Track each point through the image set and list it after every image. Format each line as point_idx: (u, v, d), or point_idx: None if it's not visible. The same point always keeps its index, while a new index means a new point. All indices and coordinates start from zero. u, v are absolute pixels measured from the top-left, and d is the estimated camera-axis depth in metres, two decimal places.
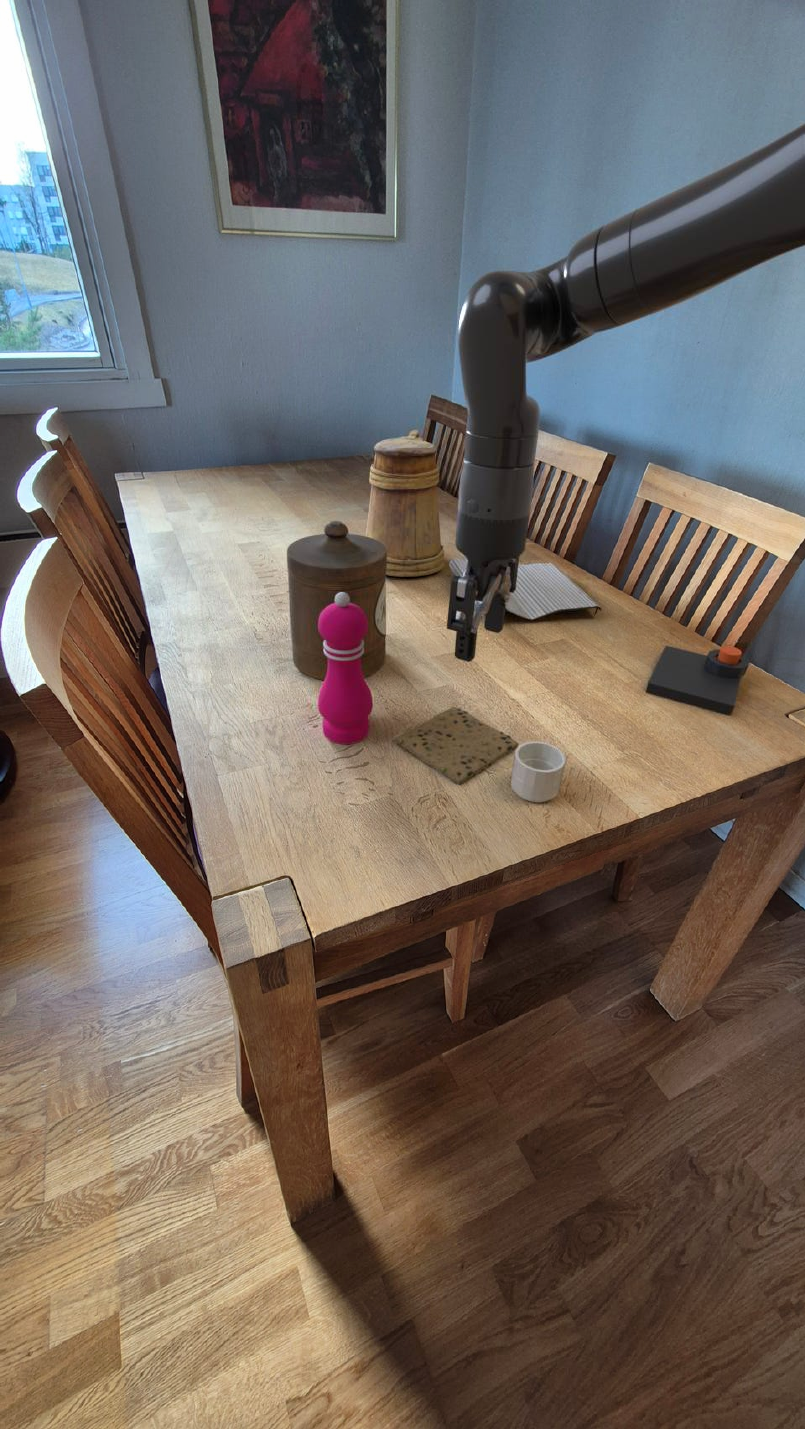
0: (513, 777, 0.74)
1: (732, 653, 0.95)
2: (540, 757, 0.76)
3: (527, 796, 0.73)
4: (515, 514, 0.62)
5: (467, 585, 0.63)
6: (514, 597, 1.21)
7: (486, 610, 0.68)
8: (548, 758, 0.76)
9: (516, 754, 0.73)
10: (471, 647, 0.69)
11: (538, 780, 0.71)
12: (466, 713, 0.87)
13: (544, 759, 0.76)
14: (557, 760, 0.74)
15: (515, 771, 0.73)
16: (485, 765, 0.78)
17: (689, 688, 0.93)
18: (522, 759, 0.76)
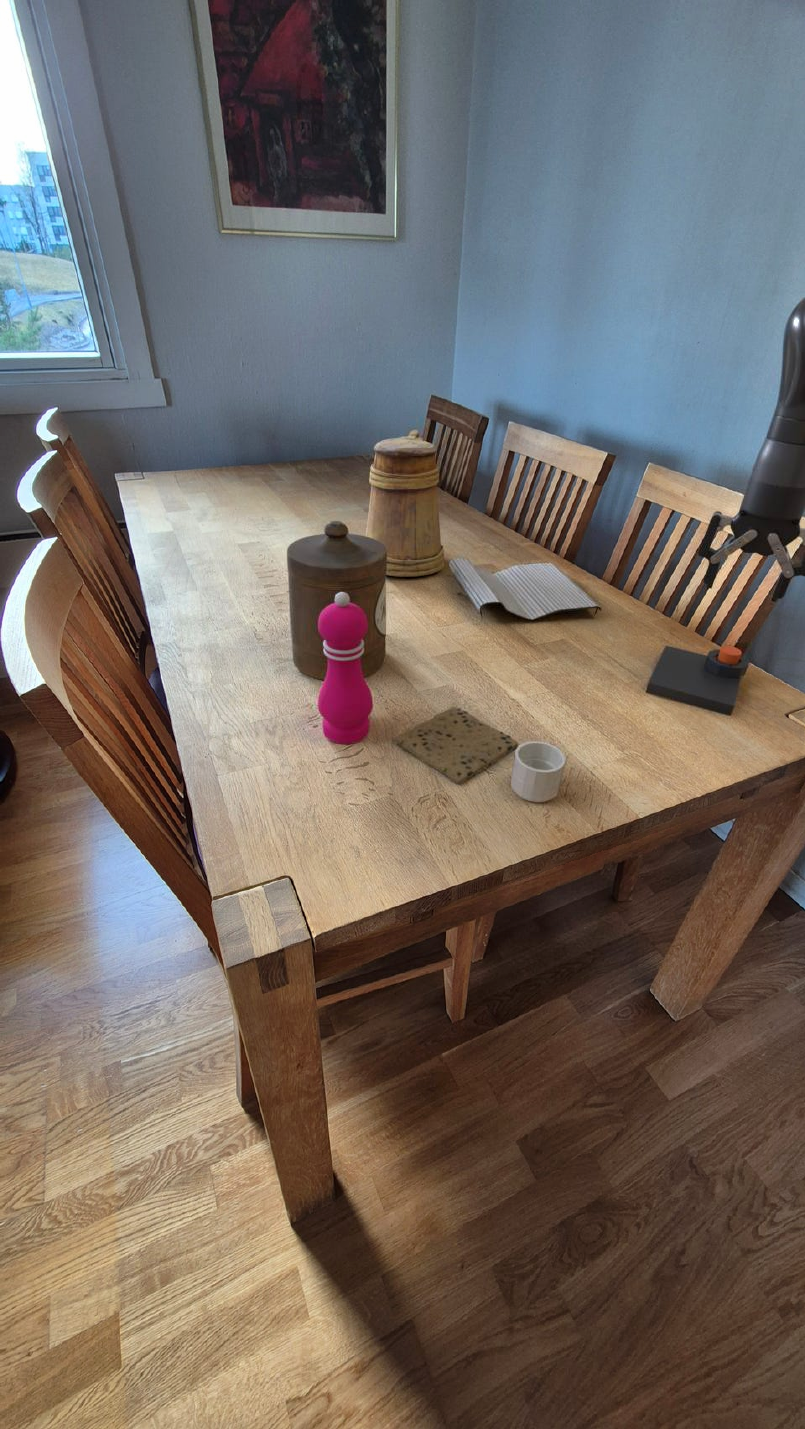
0: (513, 777, 0.74)
1: (732, 653, 0.95)
2: (540, 757, 0.76)
3: (527, 796, 0.73)
4: (765, 478, 0.80)
5: (712, 517, 0.87)
6: (514, 597, 1.21)
7: (728, 551, 0.87)
8: (548, 758, 0.76)
9: (516, 754, 0.73)
10: (710, 575, 0.90)
11: (538, 780, 0.71)
12: (466, 713, 0.87)
13: (544, 759, 0.76)
14: (557, 760, 0.74)
15: (515, 771, 0.73)
16: (485, 765, 0.78)
17: (689, 688, 0.93)
18: (522, 759, 0.76)
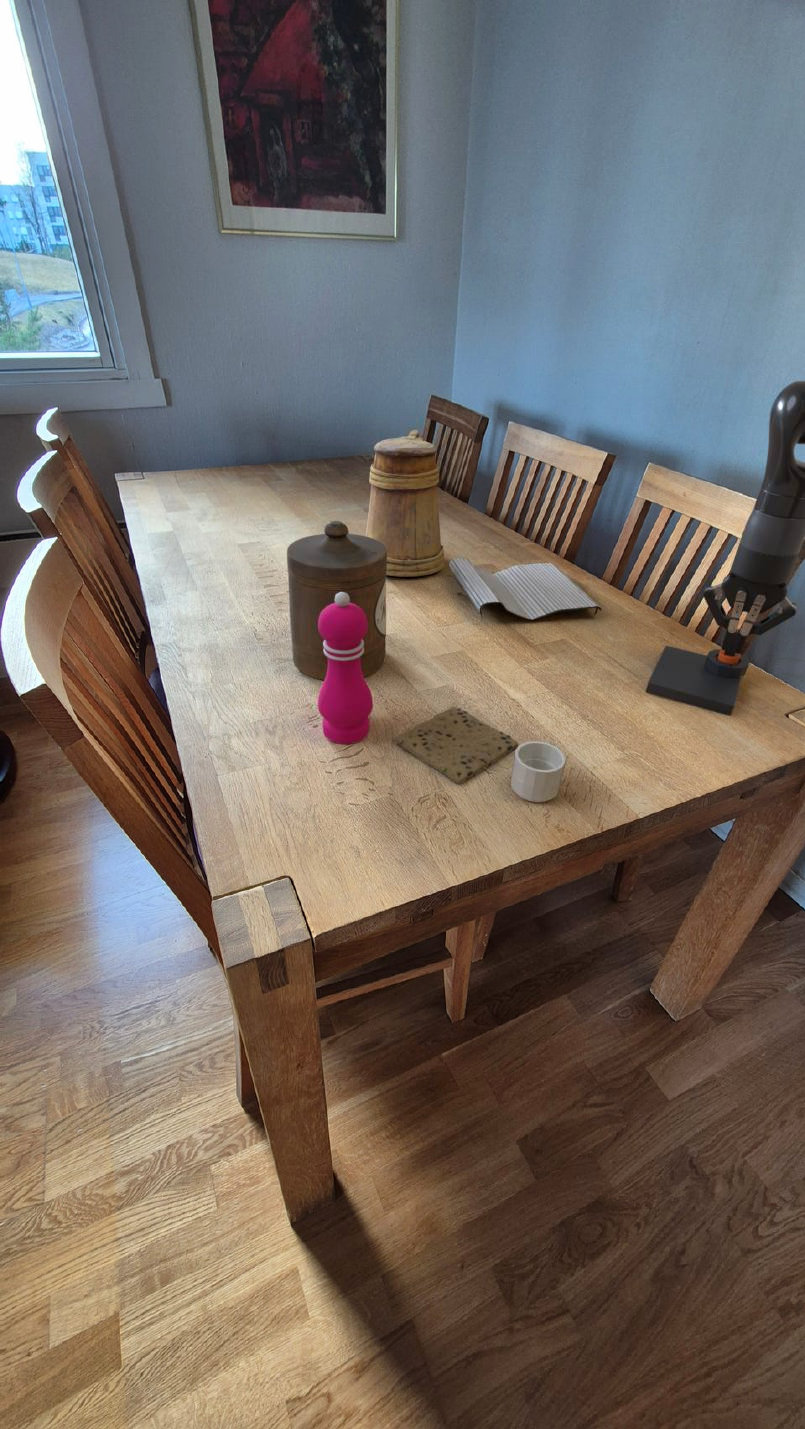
0: (513, 777, 0.74)
1: (731, 656, 0.96)
2: (540, 757, 0.76)
3: (527, 796, 0.73)
4: (752, 546, 0.85)
5: None
6: (514, 597, 1.21)
7: (735, 617, 0.92)
8: (548, 758, 0.76)
9: (516, 754, 0.73)
10: (727, 643, 0.95)
11: (538, 780, 0.71)
12: (466, 713, 0.87)
13: (544, 759, 0.76)
14: (557, 760, 0.74)
15: (515, 771, 0.73)
16: (485, 765, 0.78)
17: (689, 688, 0.93)
18: (522, 759, 0.76)
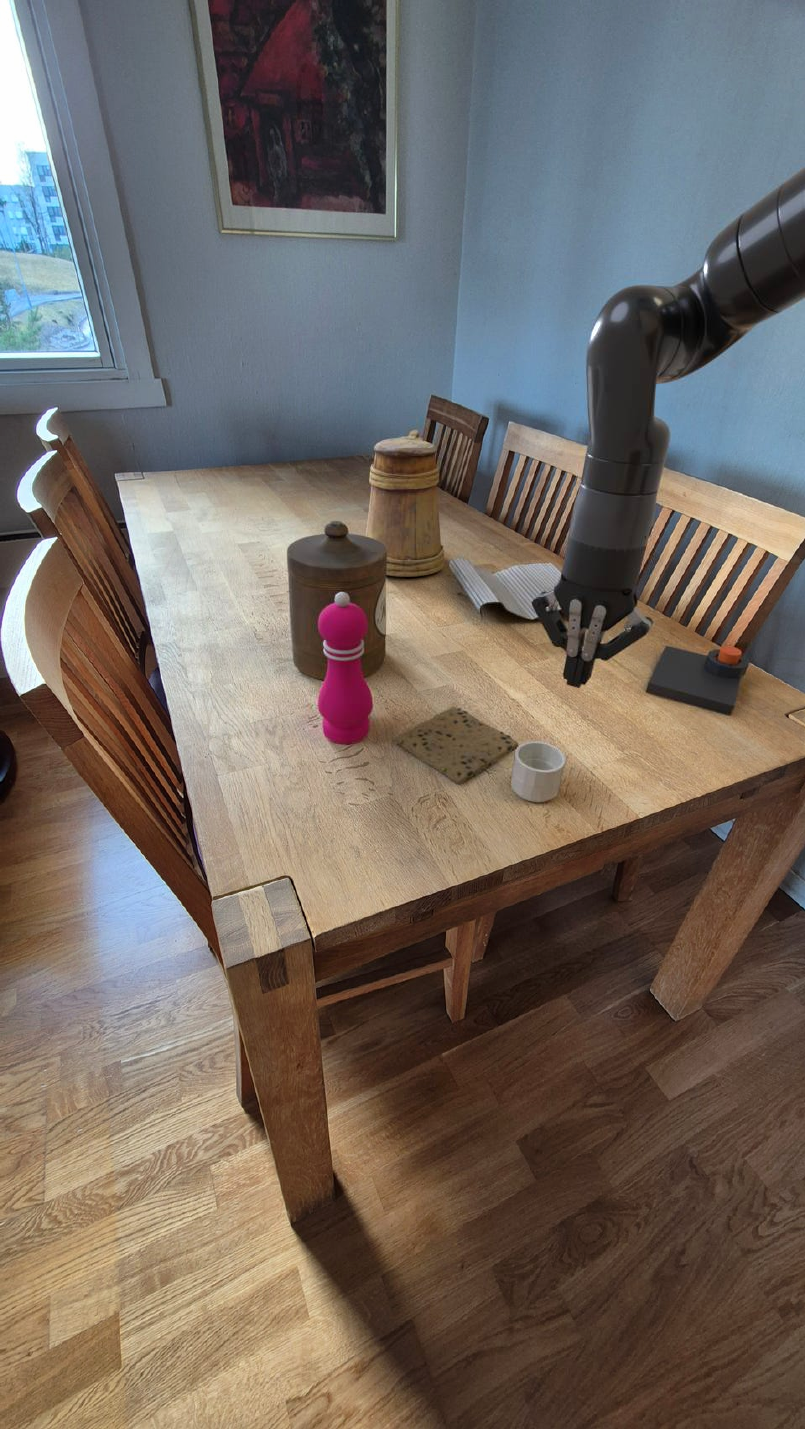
0: (513, 777, 0.74)
1: (732, 653, 0.95)
2: (540, 757, 0.76)
3: (527, 796, 0.73)
4: (578, 536, 0.60)
5: None
6: (514, 597, 1.21)
7: (573, 635, 0.66)
8: (548, 758, 0.76)
9: (516, 754, 0.73)
10: (569, 670, 0.70)
11: (538, 780, 0.71)
12: (466, 713, 0.87)
13: (544, 759, 0.76)
14: (557, 760, 0.74)
15: (515, 771, 0.73)
16: (485, 765, 0.78)
17: (689, 688, 0.93)
18: (522, 759, 0.76)
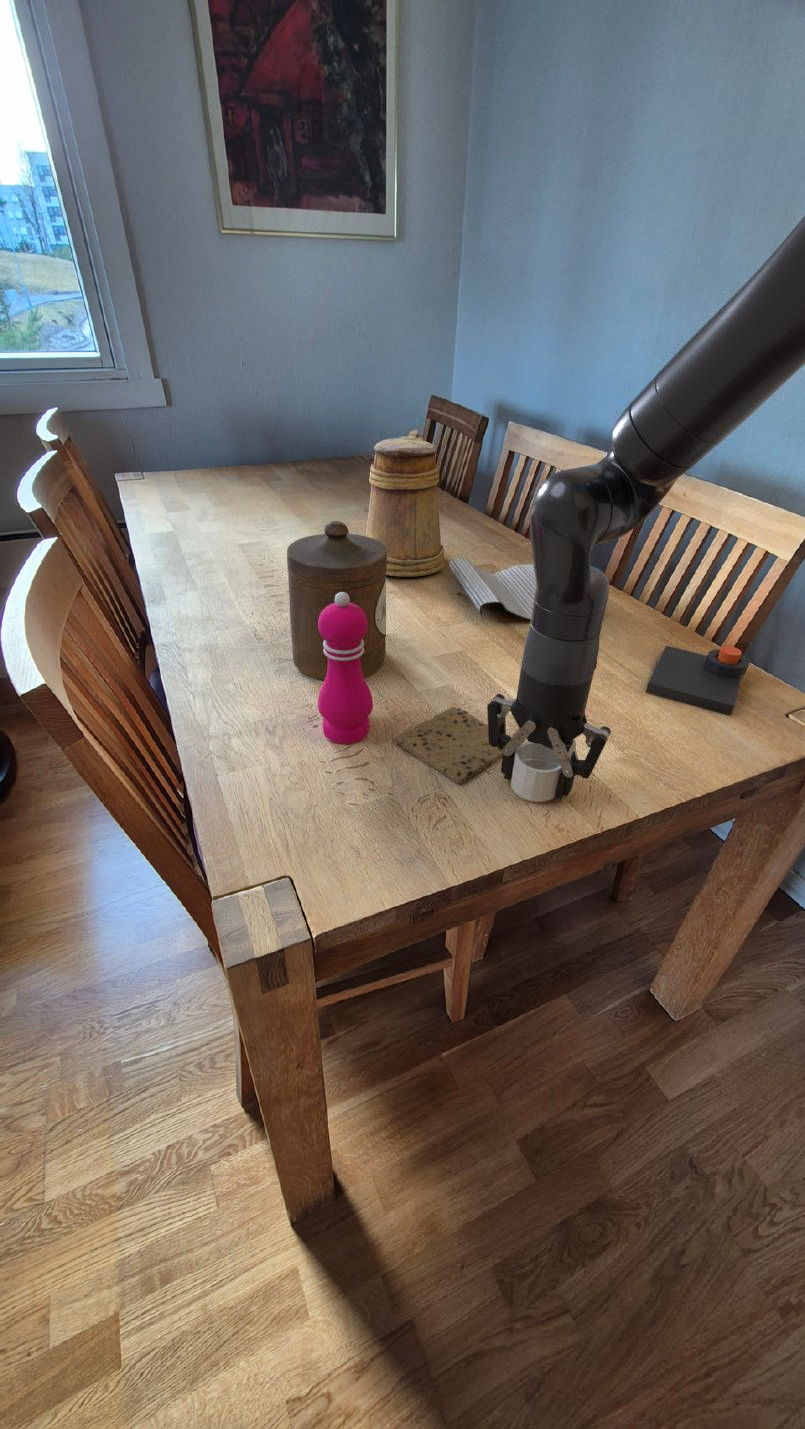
0: (513, 777, 0.74)
1: (732, 653, 0.95)
2: (540, 757, 0.76)
3: (527, 796, 0.73)
4: (529, 670, 0.64)
5: None
6: (514, 597, 1.21)
7: (515, 743, 0.72)
8: (548, 758, 0.76)
9: (516, 754, 0.73)
10: (505, 767, 0.75)
11: (538, 780, 0.71)
12: (466, 713, 0.87)
13: (544, 759, 0.76)
14: None
15: (515, 771, 0.73)
16: (485, 765, 0.78)
17: (689, 688, 0.93)
18: (522, 759, 0.76)
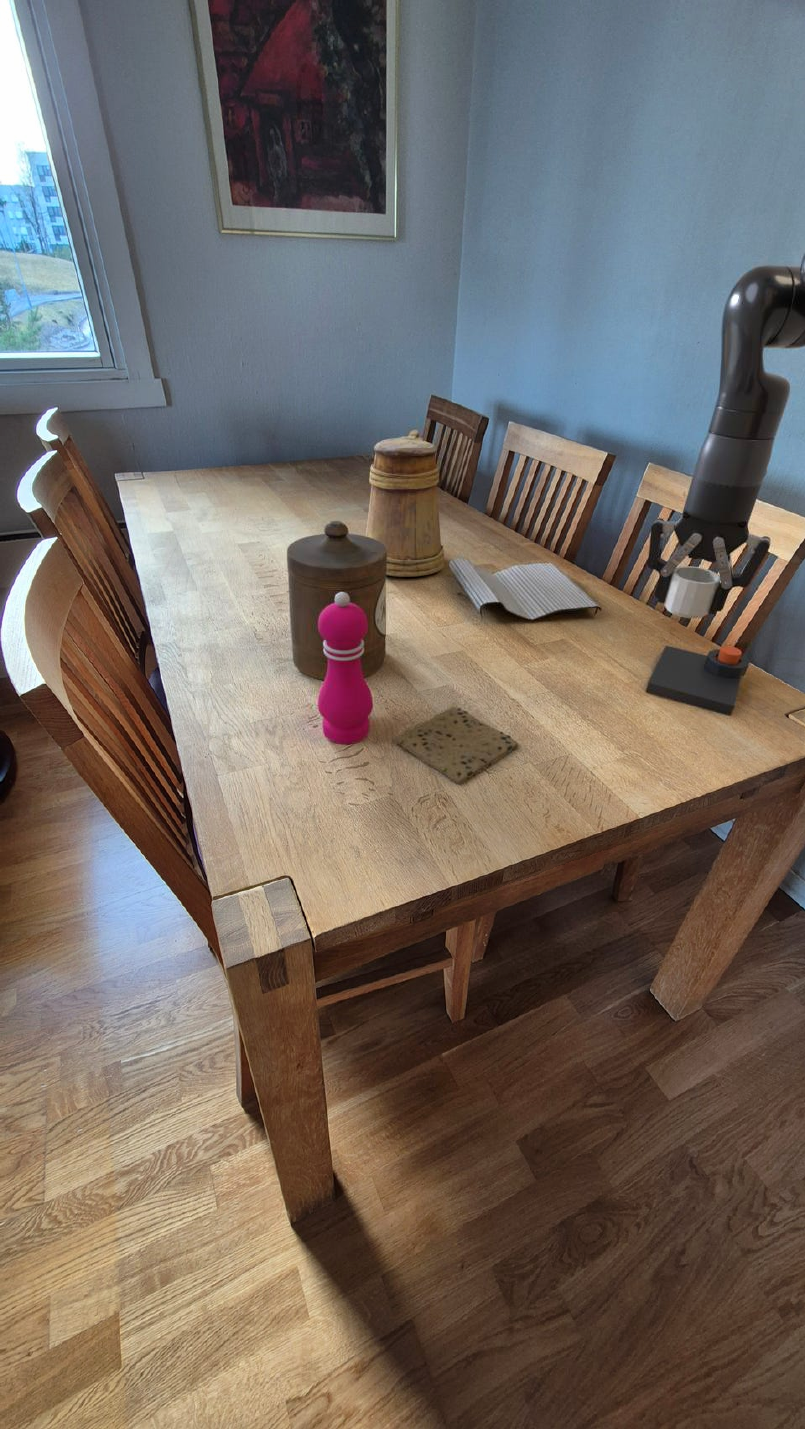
0: (670, 596, 0.82)
1: (732, 653, 0.95)
2: None
3: (685, 611, 0.81)
4: (707, 476, 0.72)
5: (652, 525, 0.80)
6: (514, 597, 1.21)
7: (676, 560, 0.79)
8: (698, 582, 0.83)
9: (675, 573, 0.81)
10: (661, 589, 0.83)
11: (698, 593, 0.79)
12: (466, 713, 0.87)
13: None
14: (709, 581, 0.82)
15: (673, 589, 0.81)
16: (485, 765, 0.78)
17: (689, 688, 0.93)
18: None
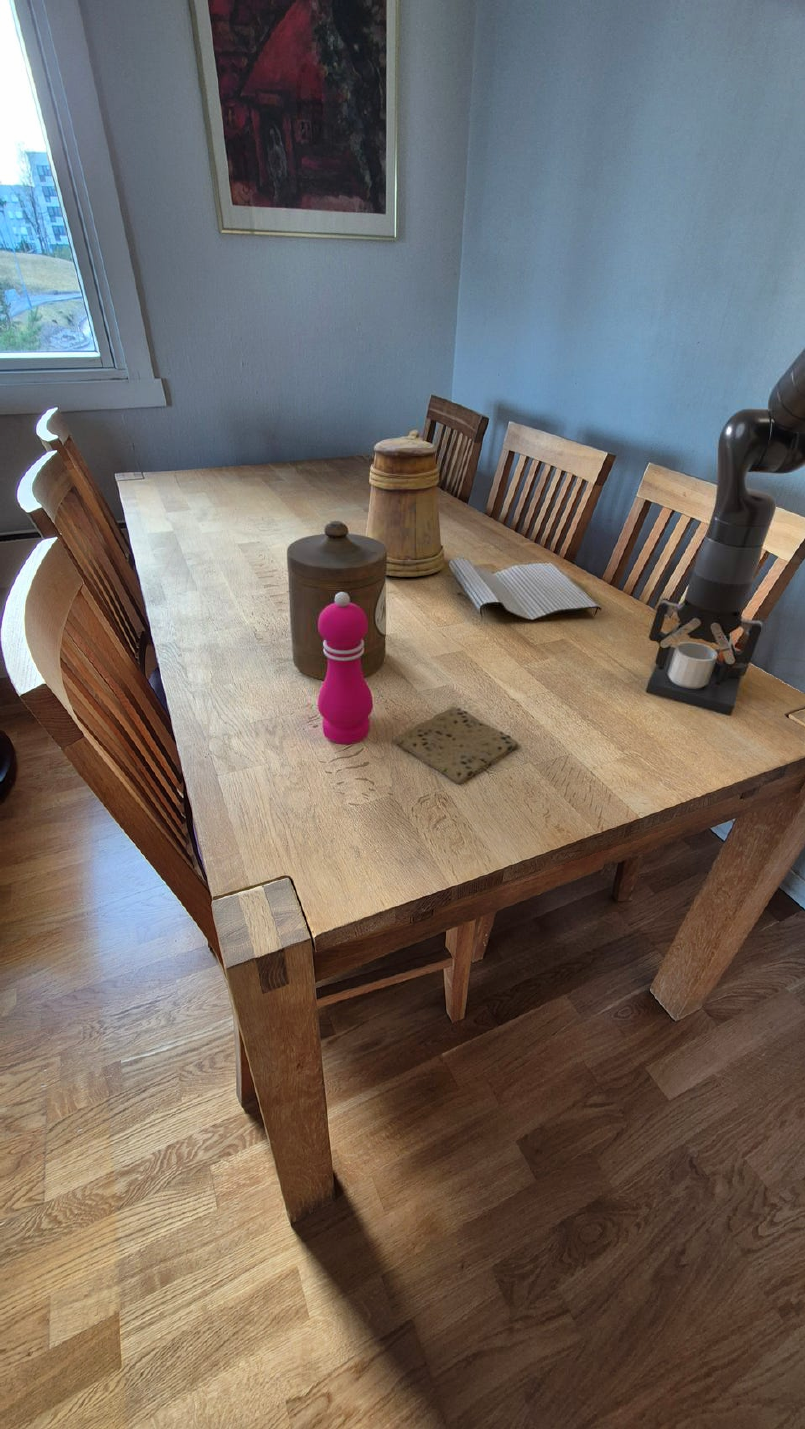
0: (673, 669, 0.93)
1: None
2: (691, 655, 0.95)
3: (686, 683, 0.92)
4: (704, 574, 0.83)
5: (659, 604, 0.91)
6: (514, 597, 1.21)
7: (676, 637, 0.91)
8: (698, 655, 0.95)
9: (677, 649, 0.92)
10: (660, 658, 0.94)
11: (698, 668, 0.90)
12: (466, 713, 0.87)
13: (694, 657, 0.95)
14: (708, 656, 0.93)
15: (676, 663, 0.92)
16: (485, 765, 0.78)
17: (689, 688, 0.93)
18: None
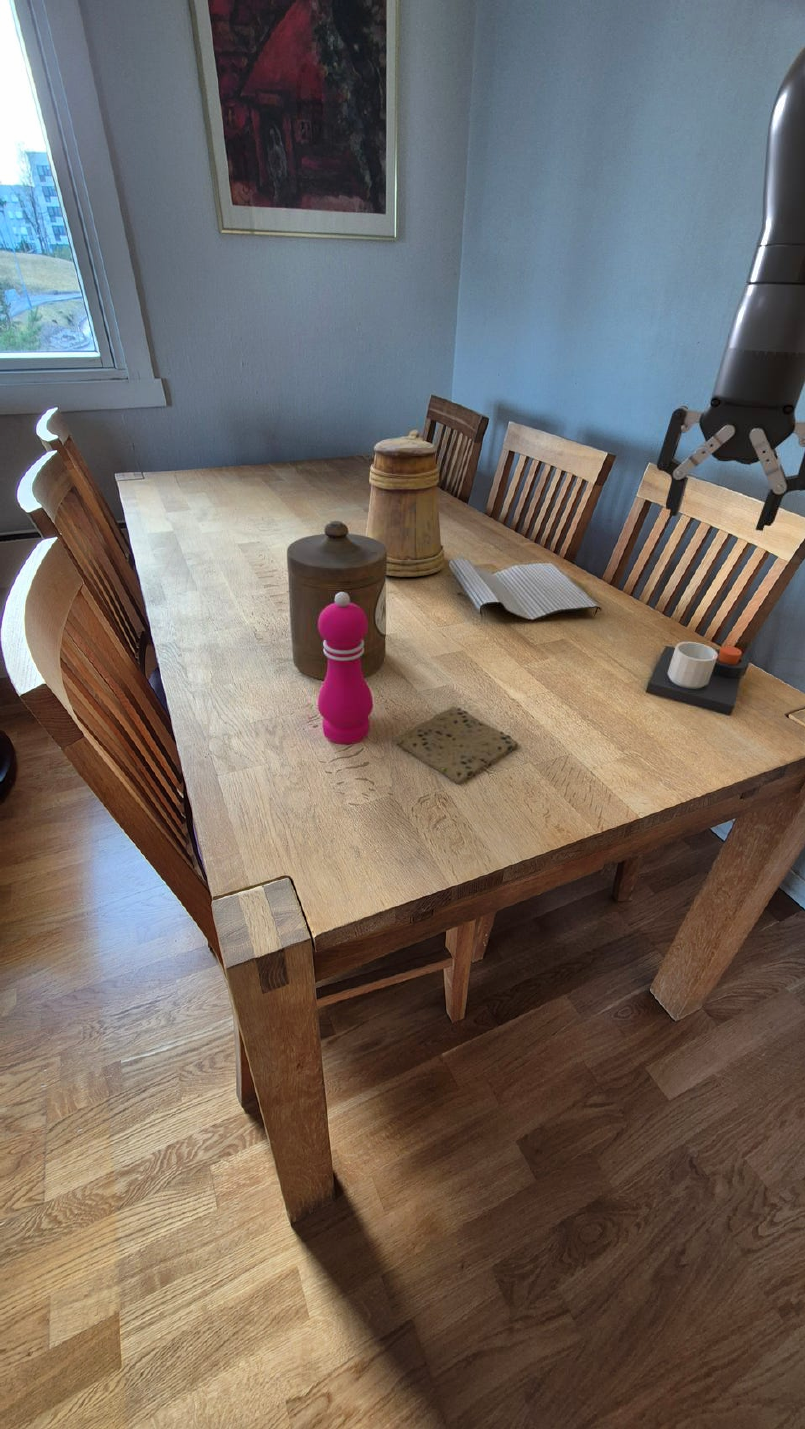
0: (673, 669, 0.93)
1: (732, 653, 0.95)
2: (691, 655, 0.95)
3: (686, 683, 0.92)
4: (743, 343, 0.56)
5: (673, 412, 0.63)
6: (514, 597, 1.21)
7: (696, 459, 0.63)
8: (698, 655, 0.95)
9: (677, 649, 0.92)
10: (673, 497, 0.67)
11: (698, 668, 0.90)
12: (466, 713, 0.87)
13: (694, 657, 0.95)
14: (708, 656, 0.93)
15: (676, 663, 0.92)
16: (485, 765, 0.78)
17: (689, 688, 0.93)
18: None
